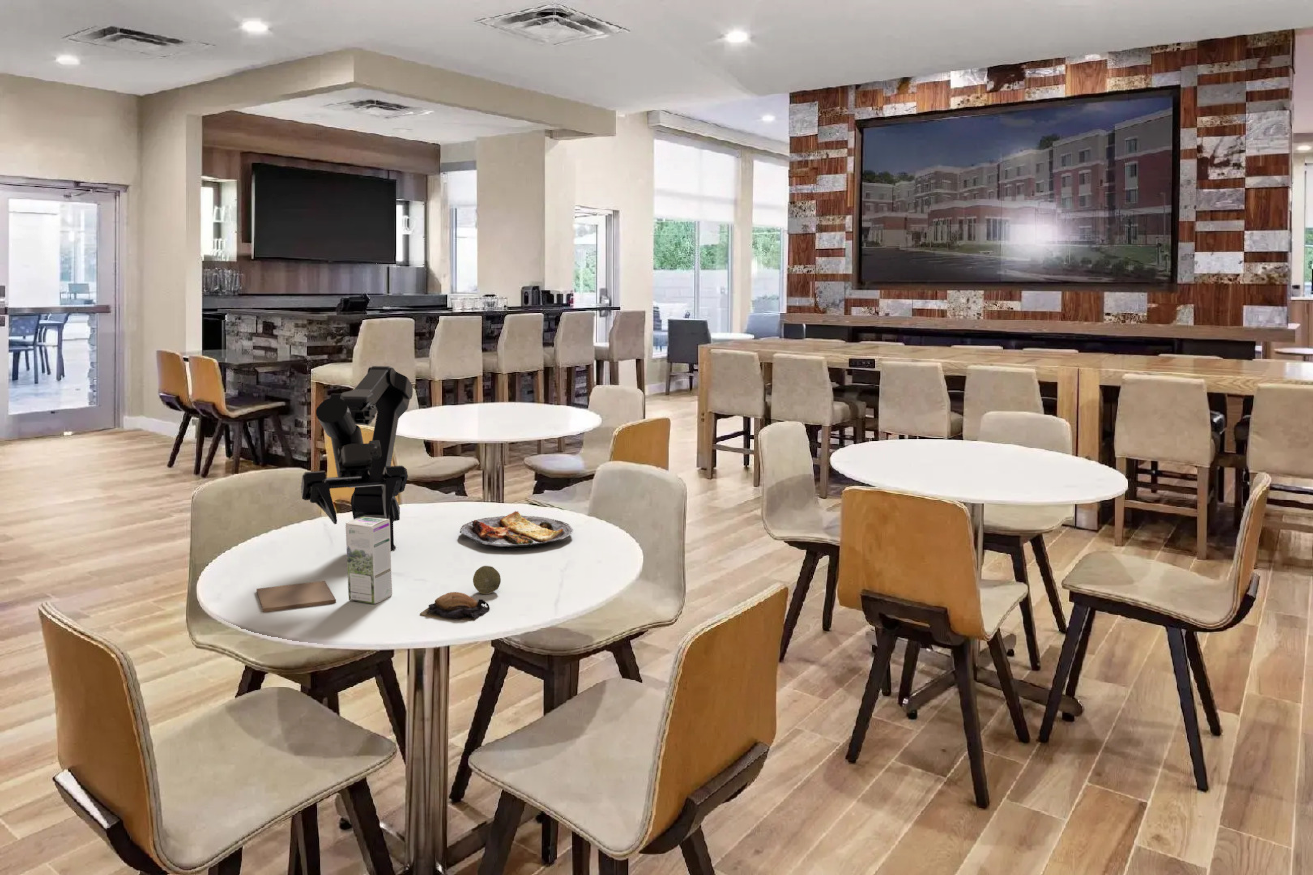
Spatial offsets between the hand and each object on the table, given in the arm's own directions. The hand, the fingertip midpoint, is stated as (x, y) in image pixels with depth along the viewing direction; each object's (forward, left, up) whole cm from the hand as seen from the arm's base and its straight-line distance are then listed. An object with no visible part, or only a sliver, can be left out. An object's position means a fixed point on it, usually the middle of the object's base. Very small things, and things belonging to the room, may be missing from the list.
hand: (361, 520), depth 180 cm
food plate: (-38, -25, -14) cm, 47 cm away
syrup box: (0, +5, -13) cm, 14 cm away
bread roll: (-12, +18, -14) cm, 26 cm away
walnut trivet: (+12, -1, -13) cm, 18 cm away
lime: (-20, +10, -13) cm, 26 cm away
